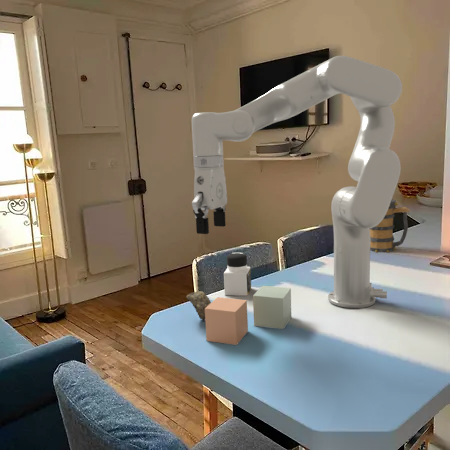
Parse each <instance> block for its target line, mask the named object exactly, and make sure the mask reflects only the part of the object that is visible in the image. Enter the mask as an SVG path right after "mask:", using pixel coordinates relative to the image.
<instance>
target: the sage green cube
mask: <svg viewBox="0 0 450 450" xmlns="http://www.w3.org/2000/svg"><path fill="white" fill-rule="evenodd" d="M252 304H253V306H252V307H253V326H255V327H264V328H272V329H280V330H281V329H282V330H284V329H285V328H286V327H287V325H288V323H289V321H290V320H291V318H292V289H291V287H280V286H271V285H269V286H268V285H262V286H261V287H260V288H259V289H258V290H257V291H256V292H254V294H253V295H252Z"/></svg>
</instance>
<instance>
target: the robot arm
mask: <svg viewBox="0 0 450 450" xmlns="http://www.w3.org/2000/svg"><path fill="white" fill-rule="evenodd" d="M402 93H403V83H402V81H401V78H400V77H399V75H398V74H397V73H395V72H394V71H392V70H391V69H388V68H384V67H383V66H378V65H375V64H373V63H369V62H366V61H364V60H360V59H358V58H357V59H356V58H355V57H351V56H347V55H336V56H333V57H332V58H331V57H330V58H329V59H328V60H325V61H323V62H322V63H319V64H318V65H315V66H314V67H312V68H310V69H308V70H306V71H304V72H302V73H299V74H298V75H296V76H294V77H292V78H290V79H288V80H287V81H284V82H282V83H280V84H278V85H277V86H275V87H274V88H272V89H270V90H269V91H268V92H266V93H265V94H263V95H261V96H259V97H258V98H256V99H254V100H252V101H250V102H248V103H247V104H245V105H243V106H241V107H239V108H237V109H235V110H231V111H226V112H214V111H212V112H211V111H207V112H206V111H204V112H196V113H194V114H193V115H192V117H191V135H192V152H193V153H192V154H193V155H192V156H193V157H192V158H193V170H194V180H193V181H194V182H193V183H194V184H193V194H194V195H193V196H194V197H193V198H194V199H193V200H192V201H191V207H192V209H193V214H194V218H195V225H196V227H195V228H196V229H195V230H196V234H199V235H200V234H201V235H208V234H209V233H210V230H209V229H210V226H209V225H210V224H209V217H208V214H209V210H214V211H213V227H222V228H223V227H226V211H227V210H226V209H227V207H226V205H227V204H228V192H227V179H226V173H225V169H224V168H225V167H224V166H225V163H224V143H223V141H229V142H236V143H237V142H244V141H247V140H248V139H249V138H250V137H252V135H253V133H255V132H257V131H260V130H261V129H264V128H265V127H267V126H270V125H272V124H275V123H278V122H281V121H285V120H288V119H291V118H292V117H295V116H298V115H299V114H301V113H302V112H305V111H306V110H309V109H310V108H313V107H314V106H316V105H318V104H320V103H322V102H324V101H326V100H328V99H329V98H332V97H333V96H336V95H339V94H342V95H345V96H347V97H350V100H351V102H352V104H353V105H354V107H355V108H356V110H357V111H358V115H359V116H360V117H359V118H360V127H359V131H358V135H357V139H356V141H355V144H354V147H353V150H352V153H351V155H350V158H349V160H348V164H347V165H348V166H347V172H348V175H349V176H350V178H351V179H352V180H354V181H356V182H357V183H356V186H352V185H350V186H345V187H342V188H340V189H339V190H337V191H336V192H335V193H334V194H333V195H334V196H333V197H332V200H331V206H330V207H331V208H330V209H331V218H332V224H333V225H332V228H333V290H332V291H331V292H330V293H328V296H327V299H328V301H329V302H330V303H331V304H333V305H335V306H338V307H342V308H347V309H363V308H367V307H370V306H372V305H375V304H376V298H380V299H387V298H388V291H386V290H384V288H374V287H373V285H372V282H370V281H371V280H370V278H371V276H370V275H371V251H370V229H369V228H373V227H375V226H377V225H378V224H379V223H380V222H381V221H382V220H383V218H384V217H385V215H386V213H387V210H388V208H389V205H390V202H391V200H392V199H393V196H394V195H395V191H396V188H397V185H398V182H399V179H400V176H401V171H402V169H401V165H402V164H401V161H400V158H399V156H398V154H397V153H396V152H395V151H393V150H392V149H390V147H391V145H392V144H391V143H392V140H393V138H394V133H395V128H396V121H395V120H396V119H395V116H394V114H395V113H394V112H393V109H392V105H393V104H395V103H397V101H398V100H399V98H400V97H401V95H402Z"/></svg>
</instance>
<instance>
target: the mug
mask: <svg viewBox="0 0 450 450" xmlns="http://www.w3.org/2000/svg"><path fill="white" fill-rule="evenodd" d="M398 205H399V203H398V202H397V200H396V199H395V198H394V199H393V198H392V200H391V202H390V205H389V208H388V210H387V213H386V215H385V217H384V218H383V220H382V221H381V222H380V223H379V224H378V225H377V226H375V227H373V228H369V229H370V252H376V253H390V252H393V251H397V250H398V249H396V247H398V246H401V245H402V244H403V243H404V241H405V239H406V237H407V234H408V230H409V225H408V224H409V223H408V213H409V212H411V209H410V208H408V207H406V206H402V207H397V206H398ZM395 213H402V220H403V232H402V235H401V238H400V240H398V241H395V237H394V234H393V229H394V228H395V224H394V217H396V215H395ZM394 241H395V242H394Z"/></svg>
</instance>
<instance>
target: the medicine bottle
mask: <svg viewBox="0 0 450 450" xmlns="http://www.w3.org/2000/svg"><path fill="white" fill-rule="evenodd" d="M247 256H248V255H247V254H245V253H243V252H231V253H229V254H227V255H226V265H227V266H226V267H227V268H226V269H225V271H224V272H223V285H224V287H223V288H224V296H235V297H236V296H237V297H239V296H240V297H241V296H242V297H244V296H245V297H246V296H249V293H250V291H251V290H252V275H251V274H252V273H251V269H252V268H251V266H248V259H247Z"/></svg>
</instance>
